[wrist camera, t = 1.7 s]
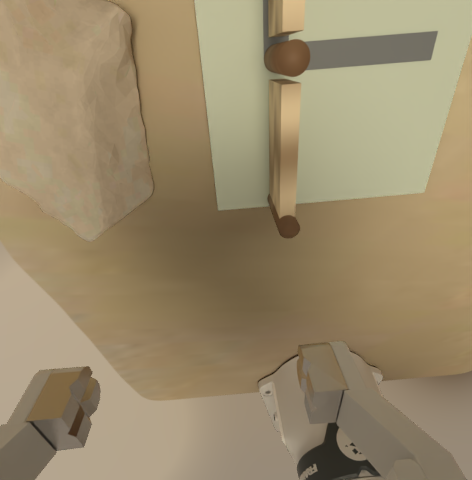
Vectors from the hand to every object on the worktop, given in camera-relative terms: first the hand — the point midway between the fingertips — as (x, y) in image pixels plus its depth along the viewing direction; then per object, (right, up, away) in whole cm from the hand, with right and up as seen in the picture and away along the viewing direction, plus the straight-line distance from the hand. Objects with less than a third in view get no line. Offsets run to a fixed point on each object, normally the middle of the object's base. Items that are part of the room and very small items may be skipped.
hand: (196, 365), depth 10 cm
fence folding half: (+5, +12, +15) cm, 19 cm away
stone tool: (-12, +17, +12) cm, 24 cm away
